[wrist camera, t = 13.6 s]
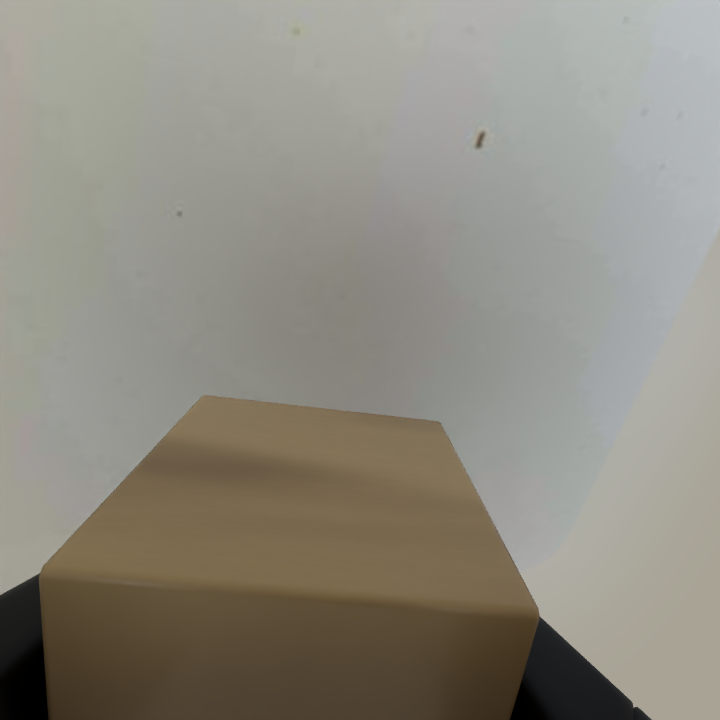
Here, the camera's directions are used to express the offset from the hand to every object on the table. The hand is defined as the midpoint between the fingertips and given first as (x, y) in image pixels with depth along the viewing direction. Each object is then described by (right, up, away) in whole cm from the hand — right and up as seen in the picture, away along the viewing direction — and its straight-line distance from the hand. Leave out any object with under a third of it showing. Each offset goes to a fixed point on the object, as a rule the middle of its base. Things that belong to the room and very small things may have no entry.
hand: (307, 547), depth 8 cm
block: (0, 0, +1) cm, 1 cm away
